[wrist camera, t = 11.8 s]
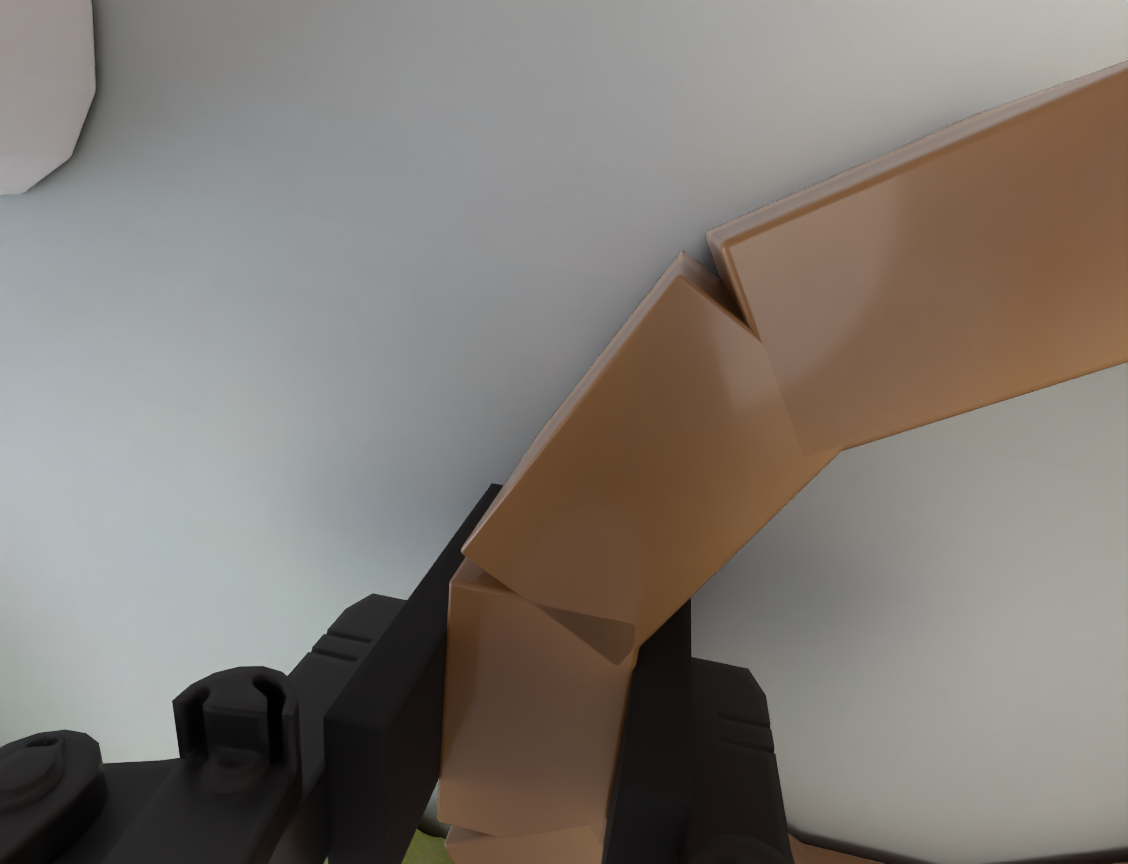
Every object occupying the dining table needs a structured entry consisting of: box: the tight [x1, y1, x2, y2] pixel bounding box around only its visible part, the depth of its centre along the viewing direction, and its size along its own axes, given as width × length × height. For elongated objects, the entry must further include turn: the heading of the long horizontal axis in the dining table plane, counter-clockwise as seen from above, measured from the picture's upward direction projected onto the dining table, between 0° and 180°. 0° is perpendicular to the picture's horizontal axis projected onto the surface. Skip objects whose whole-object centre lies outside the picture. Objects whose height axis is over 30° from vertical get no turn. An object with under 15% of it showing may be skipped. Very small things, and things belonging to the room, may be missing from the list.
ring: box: [437, 60, 1128, 864], centre depth 10 cm, size 18×18×5 cm
